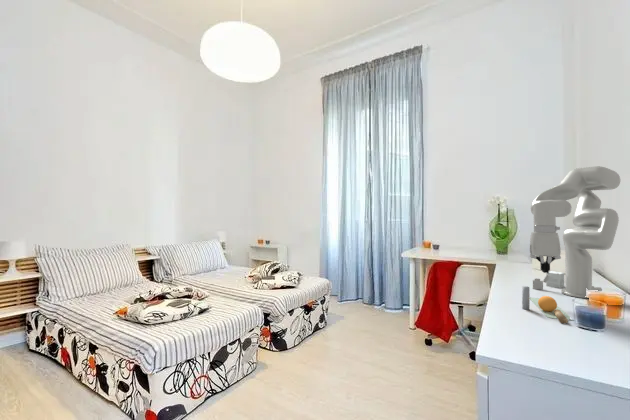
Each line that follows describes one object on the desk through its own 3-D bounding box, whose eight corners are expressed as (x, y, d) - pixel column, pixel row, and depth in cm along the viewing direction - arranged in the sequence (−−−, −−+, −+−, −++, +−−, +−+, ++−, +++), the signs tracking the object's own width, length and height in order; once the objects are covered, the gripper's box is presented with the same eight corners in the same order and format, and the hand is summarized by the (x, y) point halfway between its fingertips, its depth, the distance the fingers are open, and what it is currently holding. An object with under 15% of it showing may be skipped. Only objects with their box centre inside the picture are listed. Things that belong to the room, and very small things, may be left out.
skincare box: (550, 284, 165) (550, 270, 165) (564, 286, 159) (564, 272, 159) (546, 286, 161) (546, 272, 161) (560, 288, 156) (560, 274, 156)
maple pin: (560, 309, 116) (566, 316, 108) (562, 315, 116) (568, 323, 108) (553, 309, 117) (558, 317, 109) (554, 316, 117) (560, 323, 109)
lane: (528, 297, 140) (528, 297, 140) (549, 299, 137) (549, 299, 137) (547, 317, 114) (547, 317, 114) (574, 320, 111) (574, 320, 111)
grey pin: (526, 307, 126) (526, 286, 126) (530, 309, 123) (530, 287, 123) (520, 307, 126) (520, 286, 126) (525, 309, 123) (525, 287, 123)
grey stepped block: (532, 288, 156) (532, 273, 156) (532, 288, 157) (532, 272, 157) (550, 291, 151) (550, 274, 151) (550, 290, 153) (550, 274, 153)
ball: (557, 314, 117) (556, 312, 122) (558, 298, 117) (556, 297, 122) (538, 310, 120) (537, 309, 125) (538, 295, 121) (537, 294, 126)
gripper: (563, 228, 132) (563, 271, 132) (521, 228, 137) (522, 269, 138) (569, 230, 125) (570, 275, 125) (526, 230, 130) (526, 273, 131)
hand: (545, 272), depth 131 cm, fingers closed
